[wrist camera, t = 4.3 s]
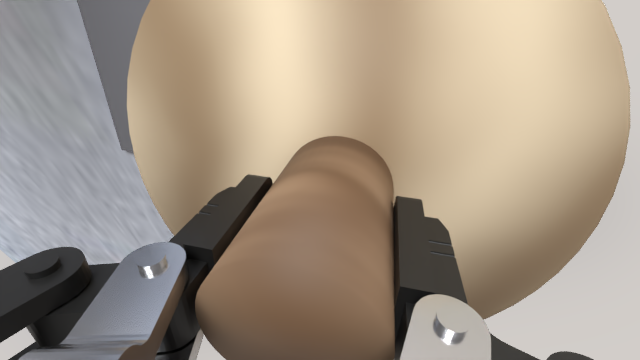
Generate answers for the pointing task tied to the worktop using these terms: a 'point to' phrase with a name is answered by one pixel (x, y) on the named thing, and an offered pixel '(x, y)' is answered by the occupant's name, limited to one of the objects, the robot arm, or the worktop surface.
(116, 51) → the rubber mat
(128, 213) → the worktop surface
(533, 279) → the oak lid
